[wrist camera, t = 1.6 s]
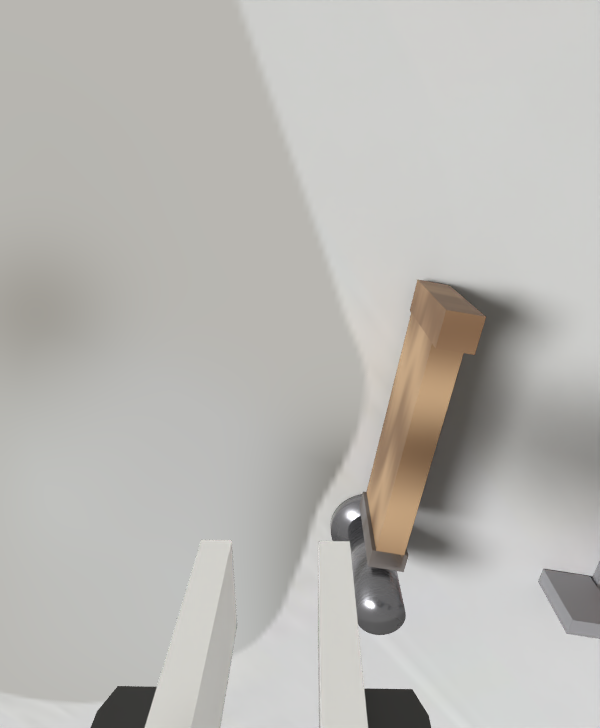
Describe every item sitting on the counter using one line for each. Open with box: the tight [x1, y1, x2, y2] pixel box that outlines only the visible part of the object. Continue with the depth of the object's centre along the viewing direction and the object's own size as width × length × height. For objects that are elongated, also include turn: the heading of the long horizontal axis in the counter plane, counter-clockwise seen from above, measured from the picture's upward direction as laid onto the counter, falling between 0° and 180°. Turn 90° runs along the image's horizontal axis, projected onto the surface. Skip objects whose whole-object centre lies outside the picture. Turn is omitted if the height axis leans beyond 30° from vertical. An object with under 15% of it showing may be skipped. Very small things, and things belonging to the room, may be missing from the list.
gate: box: [360, 280, 486, 572], centre depth 26 cm, size 14×2×6 cm, turn 170°
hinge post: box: [331, 495, 406, 635], centre depth 29 cm, size 4×4×7 cm
